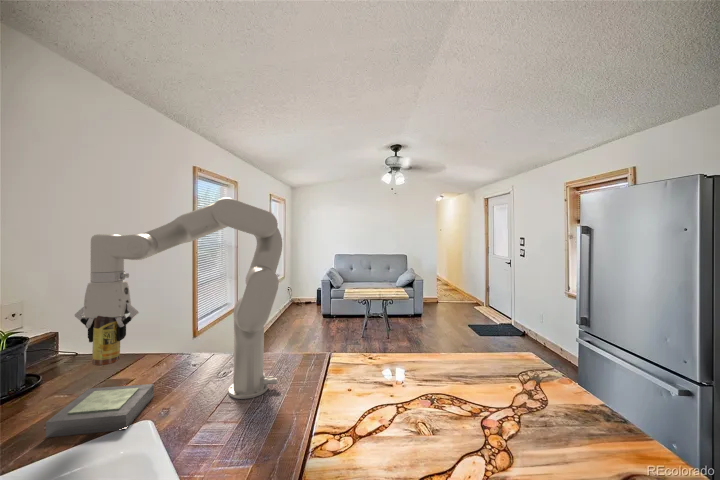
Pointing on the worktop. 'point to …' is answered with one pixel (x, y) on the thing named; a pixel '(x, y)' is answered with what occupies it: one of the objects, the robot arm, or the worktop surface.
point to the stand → (100, 410)
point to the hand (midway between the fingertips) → (107, 339)
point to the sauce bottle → (105, 341)
